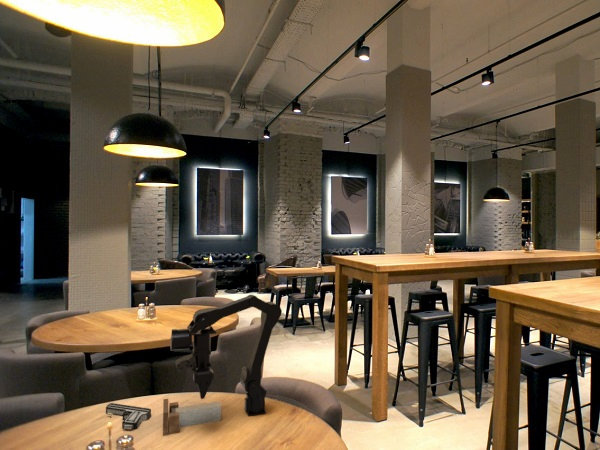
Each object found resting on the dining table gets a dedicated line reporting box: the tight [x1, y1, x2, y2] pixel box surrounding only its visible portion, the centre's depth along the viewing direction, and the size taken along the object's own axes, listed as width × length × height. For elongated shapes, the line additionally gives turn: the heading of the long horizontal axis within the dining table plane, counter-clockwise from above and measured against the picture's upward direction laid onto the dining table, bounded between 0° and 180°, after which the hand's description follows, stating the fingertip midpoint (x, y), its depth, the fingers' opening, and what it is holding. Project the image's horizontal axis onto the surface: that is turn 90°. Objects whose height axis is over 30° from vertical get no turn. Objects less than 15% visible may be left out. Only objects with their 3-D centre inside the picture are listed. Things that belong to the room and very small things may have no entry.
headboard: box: [162, 398, 180, 436], centre depth 124 cm, size 5×11×7 cm, turn 20°
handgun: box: [105, 402, 152, 431], centre depth 128 cm, size 3×19×12 cm
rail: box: [172, 401, 222, 429], centre depth 126 cm, size 16×4×5 cm, turn 110°
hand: (201, 393), depth 127 cm, fingers open, 9 cm apart
